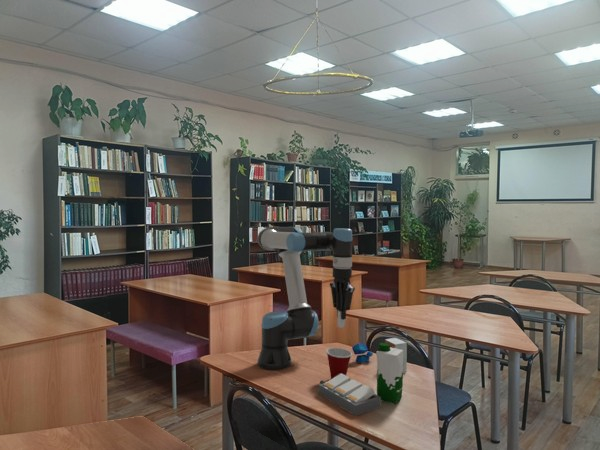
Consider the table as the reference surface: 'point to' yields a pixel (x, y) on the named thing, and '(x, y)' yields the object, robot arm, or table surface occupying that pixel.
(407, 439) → the table surface
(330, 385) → the rocker
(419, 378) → the table surface
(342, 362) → the plastic cup
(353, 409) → the grey compartment tray
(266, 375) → the table surface
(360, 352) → the blue toy figurine
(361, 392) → the rocker
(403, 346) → the small box
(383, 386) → the milk carton
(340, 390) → the rocker
